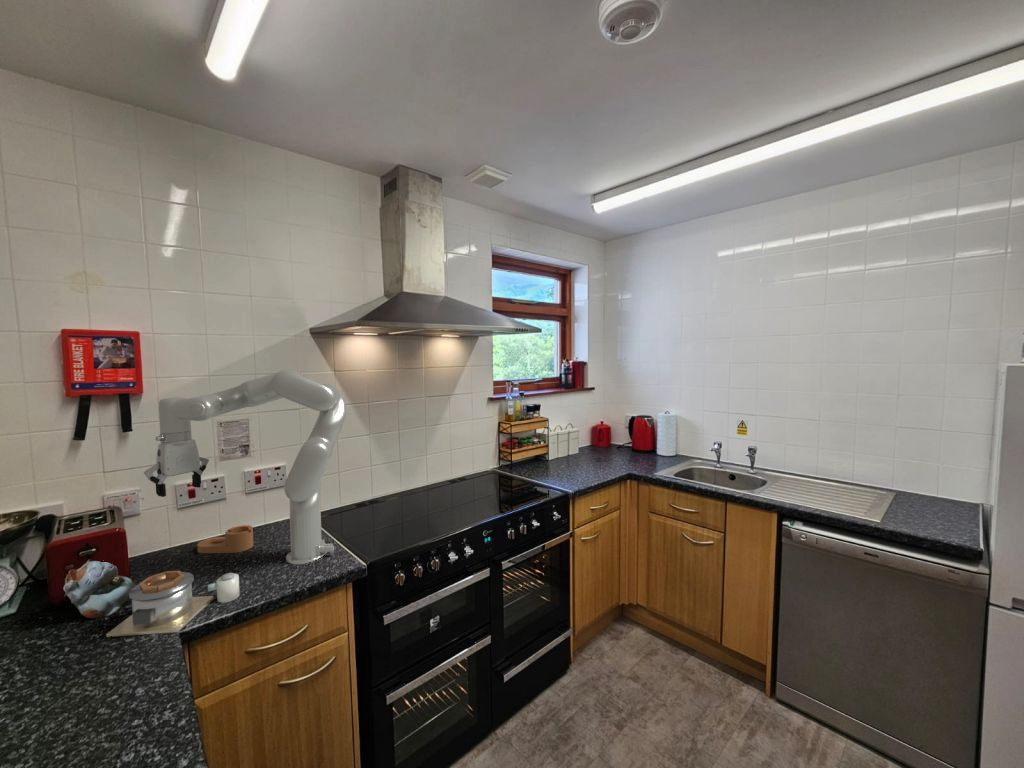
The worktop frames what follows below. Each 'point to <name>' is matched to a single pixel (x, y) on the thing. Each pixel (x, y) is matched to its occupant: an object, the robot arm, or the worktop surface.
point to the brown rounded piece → (229, 541)
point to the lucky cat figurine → (97, 588)
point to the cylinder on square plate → (161, 605)
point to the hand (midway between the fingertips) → (179, 491)
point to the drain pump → (226, 587)
